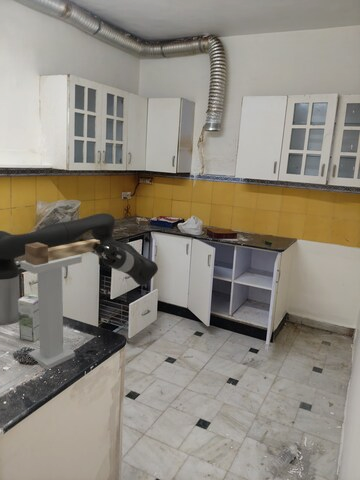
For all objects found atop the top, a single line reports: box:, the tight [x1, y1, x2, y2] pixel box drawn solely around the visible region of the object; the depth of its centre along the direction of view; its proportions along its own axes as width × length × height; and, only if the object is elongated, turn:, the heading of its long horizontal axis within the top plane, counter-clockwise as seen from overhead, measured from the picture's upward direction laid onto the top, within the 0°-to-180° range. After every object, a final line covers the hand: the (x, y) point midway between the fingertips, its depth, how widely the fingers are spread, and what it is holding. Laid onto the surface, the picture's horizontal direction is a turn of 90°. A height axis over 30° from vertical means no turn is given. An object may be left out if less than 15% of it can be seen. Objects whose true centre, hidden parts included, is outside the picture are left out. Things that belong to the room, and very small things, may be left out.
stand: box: [20, 254, 83, 371], centre depth 117 cm, size 16×10×32 cm, turn 143°
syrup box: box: [18, 294, 40, 343], centre depth 129 cm, size 6×6×14 cm
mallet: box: [24, 238, 101, 265], centre depth 116 cm, size 24×5×5 cm, turn 143°
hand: (86, 243), depth 122 cm, fingers open, 7 cm apart
